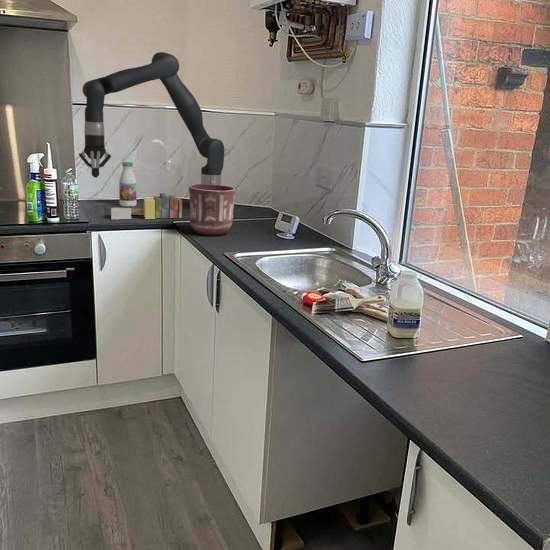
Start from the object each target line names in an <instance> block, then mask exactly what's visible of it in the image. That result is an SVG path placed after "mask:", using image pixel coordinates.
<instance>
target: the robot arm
mask: <svg viewBox="0 0 550 550" xmlns="http://www.w3.org/2000/svg"><path fill="white" fill-rule="evenodd" d="M179 70H180V62H179V59H177V58H176V56H175V55H173V54H171V53H167V52H164V51H163V52H162V51H161V52H155V54H153V56H152V58H151V63H148V64H145V65H141V66H137V67H132V68H131V67H130V68H126V69H122V70H118V71H116V72H112V73H110V74H108V75H105V76H102V77H98V78H94V79H91V80H88V81H86V82H85V83H84V84H83V86H82V93H83V96H85V97H86V105H85V109H84V129H83V130H84V131H83V132H84V148H83V151H82V152H80V153H78V156H79V157H80V159H81V160H82V161H83V163H84V164H85V165H86V166H87V167H89V168H91V176H92V177H93V178H96V179H97V178H98V177H99V176H100V168H102V167H105V165H106V164H107V162H109V160H110V159H111V158H112V154H110V153H109V152H107V149H106V147H105V145H106V144H105V123H104V106H105V105H104V104H105V96H107V95H109V94H114V93H118V92H121V91H125V90H127V89H129V88H132V87H135V86H138V85H142V84H145V83H147V82H151V81H155V80H160V81H161V83H162V85H163V86H164V87H165V89H166V91H167V93H168V96H169V97H170V99H171V101H172V103H173V105H174V107H175V108H176V110H177V112H178V114H179V116H180V118H181V119H182V120H183V123H184V124H185V126H186V128H187V130H188V131H189V133H190V135H191V137H192V139H193V141H194V144H195V146H196V150H197V151H198V152H199V154H200V155H201V156H202V157H203V158H205V159H206V164H205V165H204V166H202V167H201V170H200V184H216V185H222V170H223V168H224V165H225V163H224V162H225V161H224V160H225V145H224V142H223V141H222V140H220V139H217V138H212V137H210V136H209V134H208V133H207V131H206V129H205V126H204V121H203V111H202V109H201V106H200V105H199V103H198V101H197V99H196V98H195V96H194V95H193V93H192V92H191V90H189V89H188V87H187V86H186V85H185V83H183V82H182V80H181V78H180V77H179V75H178V72H179ZM86 157H88V159H90V162H89V161H88V160H87V158H86ZM103 157H104V158H103ZM102 158H103V160H102V161H101V159H102Z"/></svg>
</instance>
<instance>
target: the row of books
mask: <svg viewBox="0 0 550 550" xmlns="http://www.w3.org/2000/svg"><path fill="white" fill-rule="evenodd" d="M153 199H154V200H155V219H156V218H169V219H170V218H178V217H179V218H182V219H183V200H182V199H181V198H179V197H178V196H177V195H169V194H168V193H167V192H159V196H158V195H157V196H153ZM111 209H112V208H110V210H109V211H110V212H111ZM131 215H144V208H131ZM179 218H178V219H179Z"/></svg>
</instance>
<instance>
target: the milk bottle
mask: <svg viewBox="0 0 550 550" xmlns="http://www.w3.org/2000/svg"><path fill="white" fill-rule="evenodd" d="M133 164H134V163H133V162H130V161H122V172H121V174H120V176H119V181H118V182H119V189H118V190H119V191H118V193H119V206H121V207H125V208H131V207H136V206H137V178H136V176H135V174H134V171H133V169H134V165H133ZM130 206H131V207H130Z"/></svg>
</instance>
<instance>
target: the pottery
mask: <svg viewBox="0 0 550 550" xmlns="http://www.w3.org/2000/svg"><path fill="white" fill-rule="evenodd" d="M236 191H237V189H236V188H234V187H233V186H230V185H225V184H221V185H216V184H201V183H196V184H194V183H193V184H191V185H189V187H188V194H189V222H190V226H191V228H192V229H193V230H194V232H195V233H196V234H199V235H202V236H208V237H209V236H210V237H211V236H212V237H214V236H224V235H225V234H226V233H228V231H229V230H230V229H231V227H232V225H233V221H234V205H235V196H236Z"/></svg>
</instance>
